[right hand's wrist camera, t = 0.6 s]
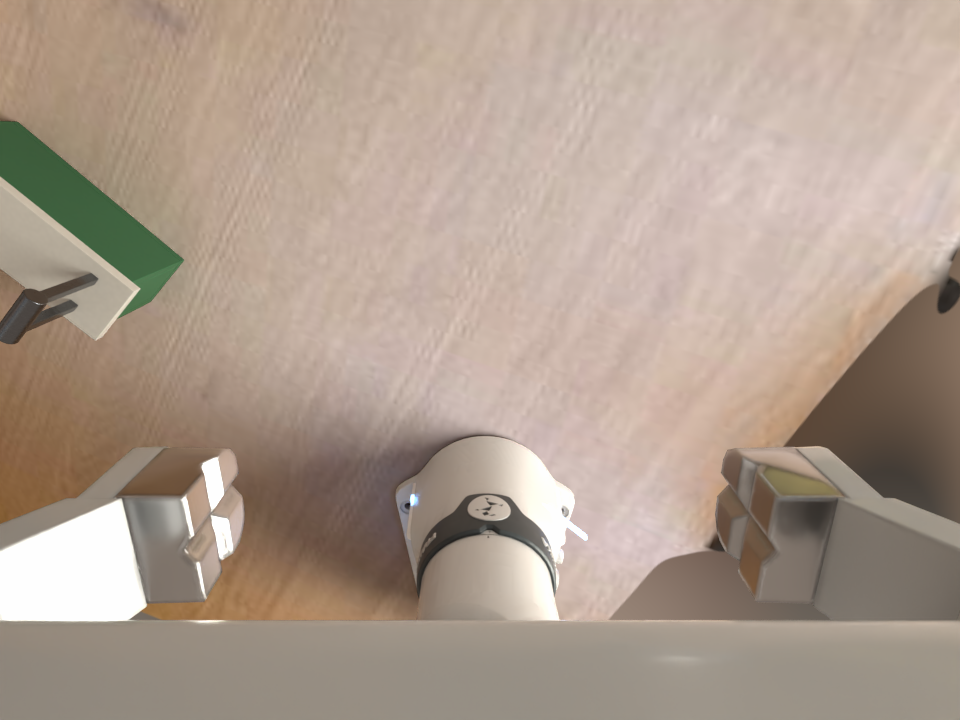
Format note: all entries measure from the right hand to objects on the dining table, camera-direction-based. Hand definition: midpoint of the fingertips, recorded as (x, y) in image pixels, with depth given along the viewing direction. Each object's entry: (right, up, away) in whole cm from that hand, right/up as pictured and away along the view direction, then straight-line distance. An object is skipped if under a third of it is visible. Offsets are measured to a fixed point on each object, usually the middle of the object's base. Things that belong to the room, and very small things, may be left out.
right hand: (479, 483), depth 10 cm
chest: (-35, +15, +44) cm, 58 cm away
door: (-35, +12, +36) cm, 51 cm away
